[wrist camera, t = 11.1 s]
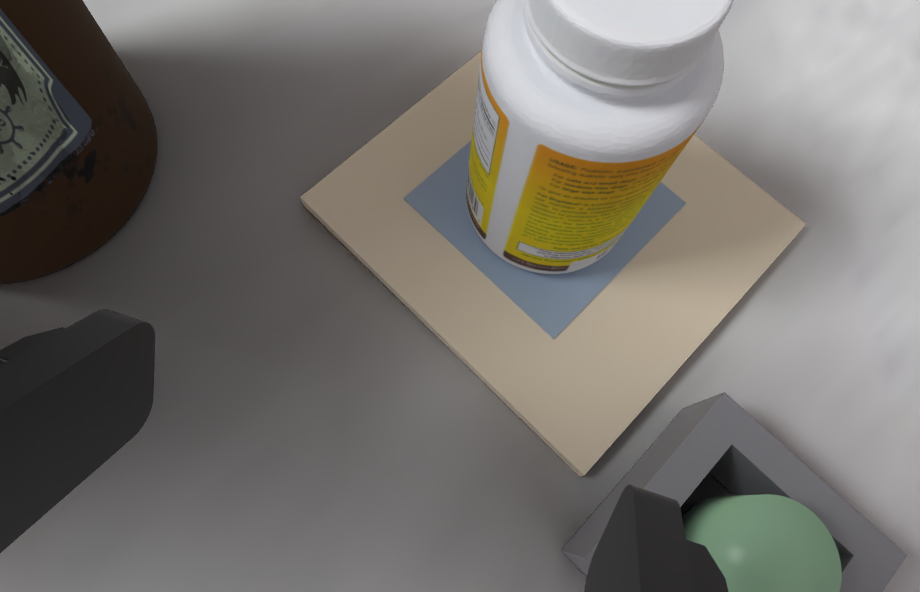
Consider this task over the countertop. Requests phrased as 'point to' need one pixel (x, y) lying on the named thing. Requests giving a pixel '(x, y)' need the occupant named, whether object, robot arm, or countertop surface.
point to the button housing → (744, 486)
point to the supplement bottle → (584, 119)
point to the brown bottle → (65, 138)
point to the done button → (766, 543)
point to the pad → (552, 295)
